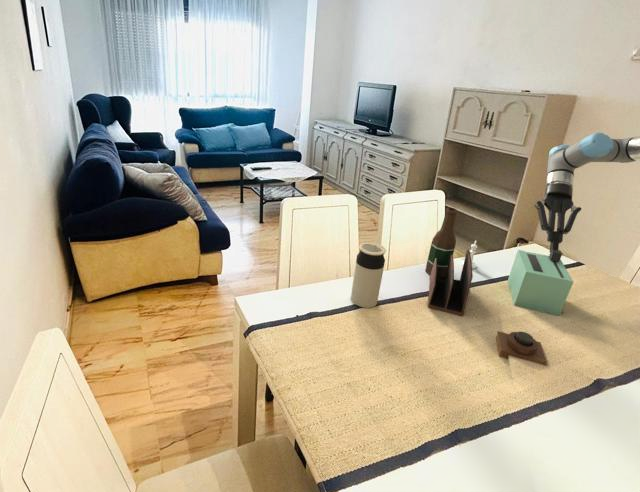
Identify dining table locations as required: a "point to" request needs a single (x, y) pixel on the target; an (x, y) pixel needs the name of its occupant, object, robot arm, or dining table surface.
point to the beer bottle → (443, 244)
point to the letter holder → (450, 287)
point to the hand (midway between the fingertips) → (553, 251)
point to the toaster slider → (555, 255)
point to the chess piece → (472, 254)
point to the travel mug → (368, 274)
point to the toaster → (539, 283)
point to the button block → (519, 348)
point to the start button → (524, 338)
